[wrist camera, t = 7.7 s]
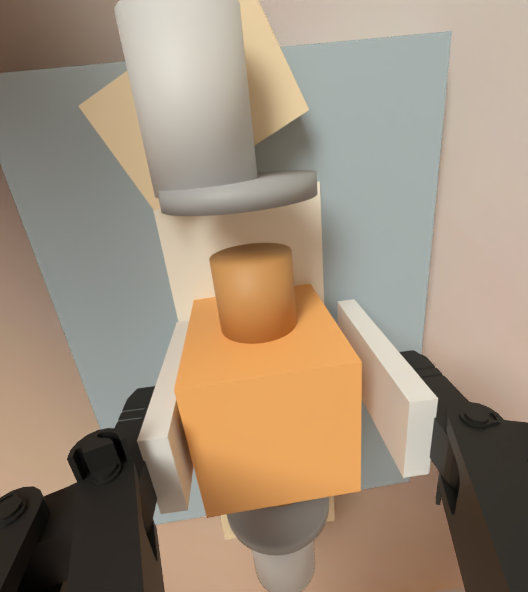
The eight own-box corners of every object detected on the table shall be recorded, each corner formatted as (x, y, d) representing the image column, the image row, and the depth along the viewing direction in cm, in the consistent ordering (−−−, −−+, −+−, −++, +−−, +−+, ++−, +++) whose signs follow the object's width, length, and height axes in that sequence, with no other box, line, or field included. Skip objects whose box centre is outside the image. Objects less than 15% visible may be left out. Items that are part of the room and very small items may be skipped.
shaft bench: (143, 502, 21) (107, 653, 14) (-18, 44, 12) (-299, -84, 5) (397, 460, 22) (467, 585, 15) (430, 5, 13) (633, -144, 6)
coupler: (221, 434, 17) (219, 565, 12) (182, 241, 13) (151, 302, 8) (317, 418, 18) (360, 540, 12) (307, 225, 14) (362, 273, 8)
